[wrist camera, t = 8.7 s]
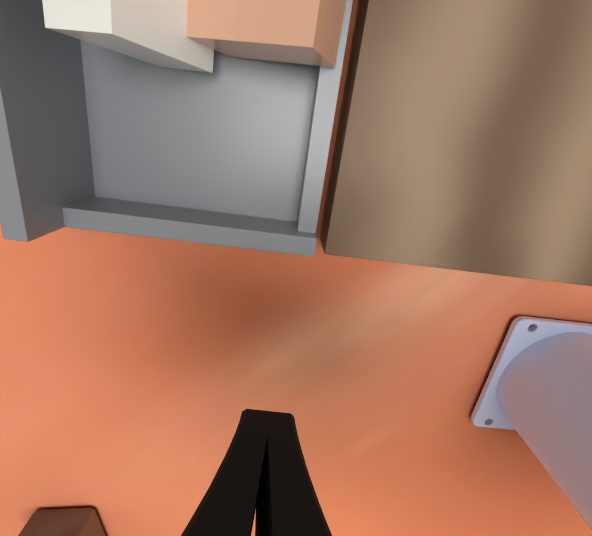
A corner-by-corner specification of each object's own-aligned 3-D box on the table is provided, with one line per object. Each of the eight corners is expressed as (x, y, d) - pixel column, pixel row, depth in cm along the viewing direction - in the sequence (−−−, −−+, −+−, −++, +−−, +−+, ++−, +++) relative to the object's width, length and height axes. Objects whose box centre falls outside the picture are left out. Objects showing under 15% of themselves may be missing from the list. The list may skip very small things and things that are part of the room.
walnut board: (819, -226, 11) (960, -323, 9) (577, 269, 18) (620, 289, 15) (412, -323, 10) (449, -459, 8) (319, 237, 17) (324, 253, 14)
